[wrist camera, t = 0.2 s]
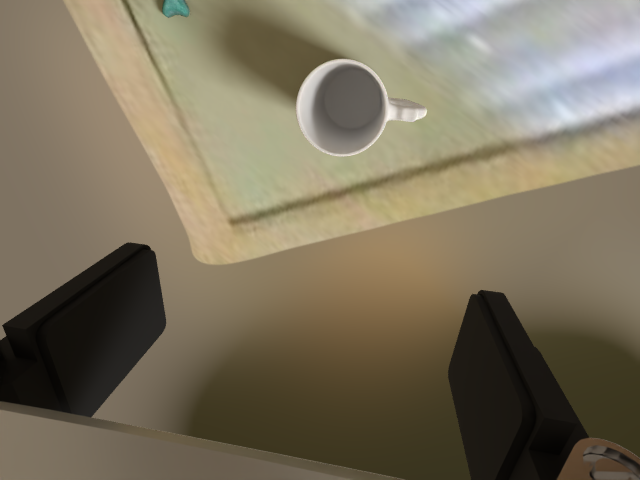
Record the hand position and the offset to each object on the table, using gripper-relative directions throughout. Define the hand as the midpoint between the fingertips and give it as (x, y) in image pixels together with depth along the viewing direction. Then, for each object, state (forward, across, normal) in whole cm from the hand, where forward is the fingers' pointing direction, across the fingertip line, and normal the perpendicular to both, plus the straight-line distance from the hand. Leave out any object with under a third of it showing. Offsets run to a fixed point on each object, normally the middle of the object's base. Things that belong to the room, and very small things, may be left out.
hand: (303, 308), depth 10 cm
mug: (+31, 0, -4) cm, 31 cm away
